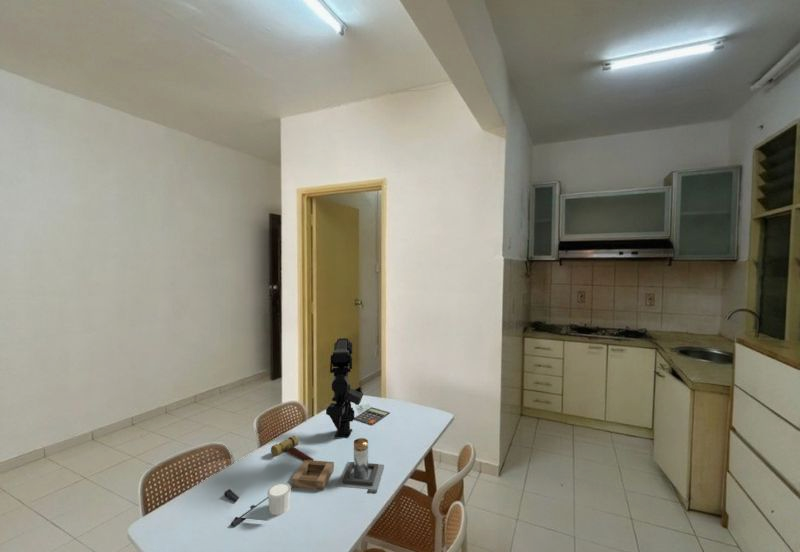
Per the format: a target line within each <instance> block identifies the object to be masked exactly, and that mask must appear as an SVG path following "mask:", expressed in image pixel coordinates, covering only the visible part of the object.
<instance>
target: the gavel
mask: <svg viewBox="0 0 800 552" xmlns="http://www.w3.org/2000/svg"><path fill="white" fill-rule="evenodd" d="M298 445H299V440H298V438H297V436H296V435H292V436H289V437H288V438H287V439H285V440H283V441H281V442H280V443H276V444H274V445H272V446H271V447H270V452H271V453H270V454H271V455H272V457H278V456H280V455H282V453H284V452H287V453H289V454H290V455H292V456H294V457H295V458H297V459H299V460H301V461H302V462H303V461H304V460H313V461H315V460H314V458H313V457H311V456H309V455H308V454H305V453H304V452H303V451H301V450H299V449H298V448H296V447H297V446H298Z"/></svg>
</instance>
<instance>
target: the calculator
mask: <svg viewBox="0 0 800 552" xmlns="http://www.w3.org/2000/svg"><path fill="white" fill-rule="evenodd" d="M390 414H391V412H389V411H386V410H381V409H379V408H375V407H370V408H368V409H366V410H364V411H363V412H361V413H360V414H357V415H356V416H354V420H353V421H357V422H360V423H363V424H365V425H366V424H367V425H369V426H374V425H375V424H377V423H378V422H380V421H381V420H383V419H384V418H385V417H388V415H390Z"/></svg>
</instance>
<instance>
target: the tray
mask: <svg viewBox="0 0 800 552" xmlns="http://www.w3.org/2000/svg"><path fill="white" fill-rule="evenodd" d="M384 469H385V464H382V463H371V462H370V463H369V462H368V476H367V477H366V478H365V479H356V478H355V477H354V461H347V463H346V464H345V466H344V468H343V471H342V472H341V475H340V477H339V478H338V479H339V480H338V481H337V483H336V485H335V487H337V488H338V487H340V488H350V489H353V488H354V489H360V490H367V491H366V492H367V493H375V492H377V493H378V490H379V487H380V484H381V480H382V477H381V476H383V473H384ZM379 483H380V484H379Z"/></svg>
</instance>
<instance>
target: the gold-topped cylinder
mask: <svg viewBox="0 0 800 552" xmlns="http://www.w3.org/2000/svg"><path fill="white" fill-rule="evenodd" d="M353 462H354V477H355V478H356V479H365V478H366V477H367V476H368V463H369V440H368V439H367V438H365V437H361V438H357V439H355V440H353Z"/></svg>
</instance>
